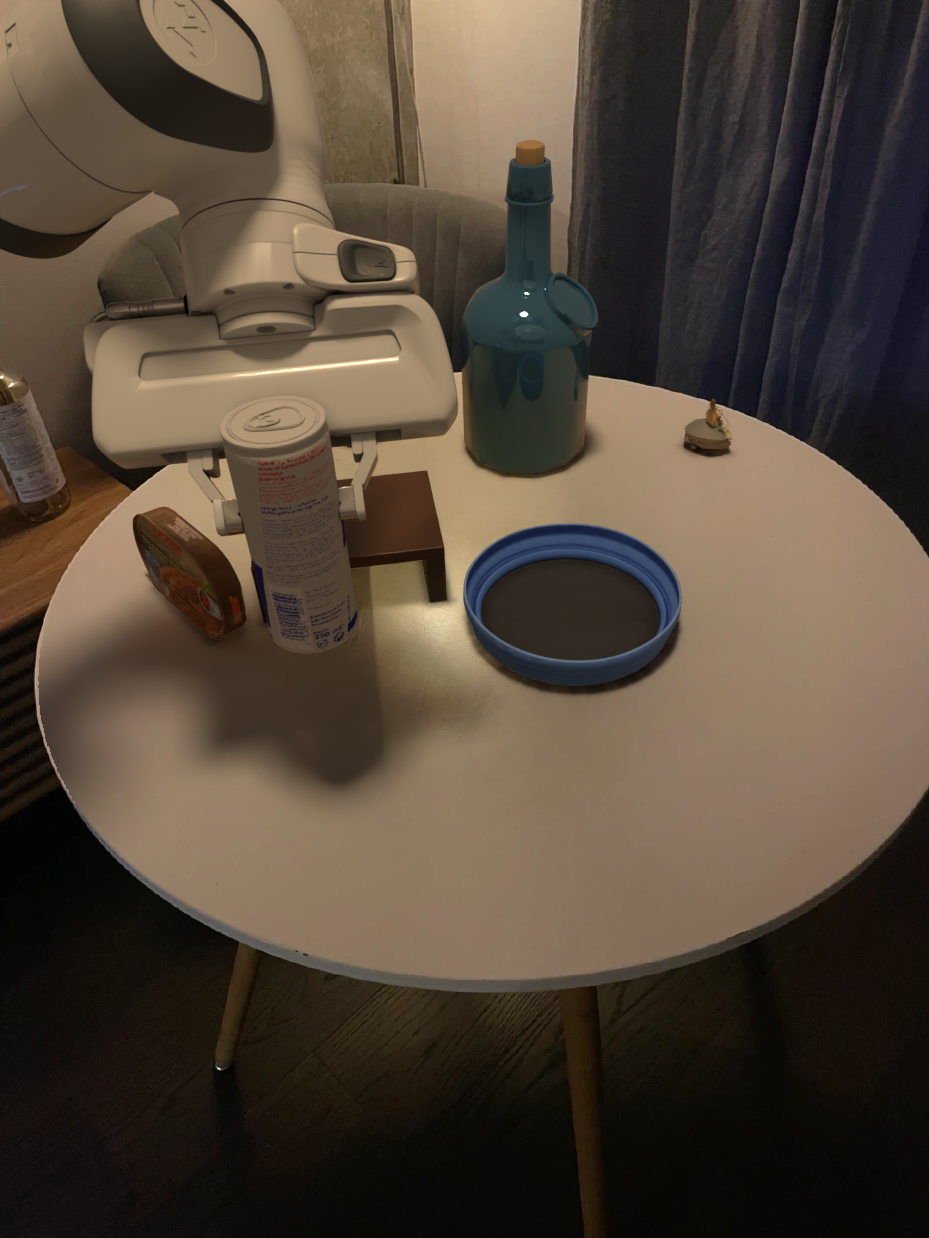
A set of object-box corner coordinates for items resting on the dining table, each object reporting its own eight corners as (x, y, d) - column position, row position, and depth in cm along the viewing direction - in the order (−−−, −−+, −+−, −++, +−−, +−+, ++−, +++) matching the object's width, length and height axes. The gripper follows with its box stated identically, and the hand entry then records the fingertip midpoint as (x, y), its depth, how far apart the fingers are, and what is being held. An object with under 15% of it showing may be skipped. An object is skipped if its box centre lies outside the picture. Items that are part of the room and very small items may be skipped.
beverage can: (376, 616, 57) (348, 406, 47) (323, 671, 53) (280, 457, 43) (307, 589, 59) (266, 383, 49) (252, 640, 56) (195, 429, 46)
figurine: (675, 449, 95) (683, 399, 91) (691, 431, 98) (699, 381, 94) (722, 463, 93) (732, 411, 89) (737, 444, 96) (748, 393, 92)
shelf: (263, 623, 76) (250, 569, 72) (266, 541, 85) (254, 488, 81) (447, 601, 78) (444, 546, 74) (430, 522, 87) (427, 469, 83)
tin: (144, 576, 82) (117, 500, 76) (174, 561, 83) (151, 486, 78) (229, 659, 73) (206, 580, 68) (261, 640, 75) (242, 562, 69)
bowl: (719, 617, 75) (727, 585, 73) (578, 730, 66) (581, 698, 64) (562, 528, 85) (564, 497, 83) (421, 616, 76) (418, 585, 74)
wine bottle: (444, 465, 94) (428, 158, 74) (490, 407, 103) (487, 119, 83) (567, 490, 90) (586, 172, 70) (604, 427, 99) (629, 130, 79)
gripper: (58, 281, 47) (86, 540, 46) (442, 248, 49) (474, 496, 48) (98, 327, 53) (123, 555, 52) (436, 296, 55) (465, 516, 54)
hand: (294, 527), depth 50 cm, fingers closed on beverage can, 5 cm apart
